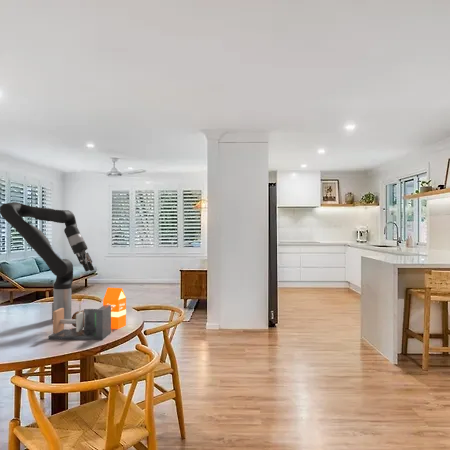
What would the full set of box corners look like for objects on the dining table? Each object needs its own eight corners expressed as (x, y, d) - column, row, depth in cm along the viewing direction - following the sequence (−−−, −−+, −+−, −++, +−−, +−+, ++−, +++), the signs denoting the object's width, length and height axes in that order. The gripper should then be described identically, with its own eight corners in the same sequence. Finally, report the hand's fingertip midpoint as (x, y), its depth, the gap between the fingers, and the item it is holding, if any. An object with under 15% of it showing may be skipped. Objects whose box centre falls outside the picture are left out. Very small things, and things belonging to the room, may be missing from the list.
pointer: (76, 331, 180) (76, 303, 180) (81, 328, 186) (81, 301, 186) (78, 331, 180) (78, 303, 180) (83, 328, 186) (83, 301, 186)
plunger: (53, 333, 179) (53, 311, 180) (60, 328, 187) (60, 308, 188) (74, 333, 179) (74, 311, 179) (81, 329, 187) (81, 308, 187)
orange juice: (117, 329, 197) (118, 289, 197) (102, 327, 199) (102, 288, 199) (126, 325, 204) (126, 287, 204) (111, 324, 207) (111, 286, 207)
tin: (74, 329, 196) (74, 312, 196) (70, 328, 198) (70, 312, 198) (98, 323, 209) (98, 307, 209) (94, 322, 210) (94, 307, 211)
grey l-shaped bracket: (48, 339, 178) (48, 309, 179) (60, 332, 190) (60, 304, 191) (102, 340, 178) (102, 310, 178) (111, 332, 190) (111, 305, 190)
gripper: (75, 247, 219) (87, 273, 218) (66, 246, 204) (79, 274, 203) (87, 241, 219) (100, 267, 218) (79, 239, 205) (92, 267, 204)
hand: (90, 270), depth 211 cm, fingers open, 8 cm apart
